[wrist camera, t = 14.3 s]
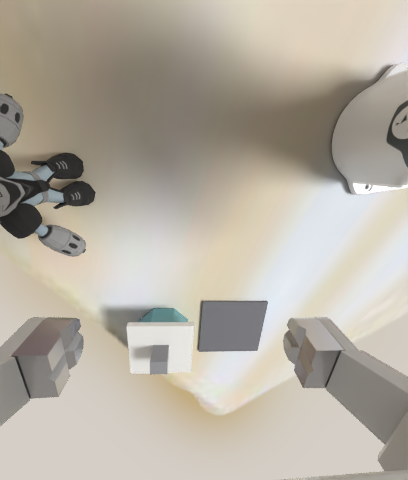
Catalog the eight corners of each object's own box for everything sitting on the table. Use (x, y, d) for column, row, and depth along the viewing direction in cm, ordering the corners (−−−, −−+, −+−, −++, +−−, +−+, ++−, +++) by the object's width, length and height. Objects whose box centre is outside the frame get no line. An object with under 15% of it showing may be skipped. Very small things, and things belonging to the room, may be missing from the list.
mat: (267, 301, 44) (267, 302, 44) (256, 349, 49) (257, 350, 49) (202, 300, 43) (202, 301, 43) (198, 350, 48) (198, 351, 48)
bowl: (188, 308, 43) (188, 326, 39) (186, 344, 47) (186, 364, 42) (139, 308, 42) (133, 326, 38) (141, 344, 46) (136, 365, 41)
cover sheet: (193, 322, 39) (194, 341, 34) (190, 367, 43) (191, 389, 39) (127, 322, 37) (120, 342, 33) (131, 368, 42) (125, 392, 37)
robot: (27, 114, 29) (-255, 33, 11) (60, 106, 29) (-164, 11, 10) (86, 239, 36) (-20, 322, 18) (112, 233, 36) (35, 309, 18)
